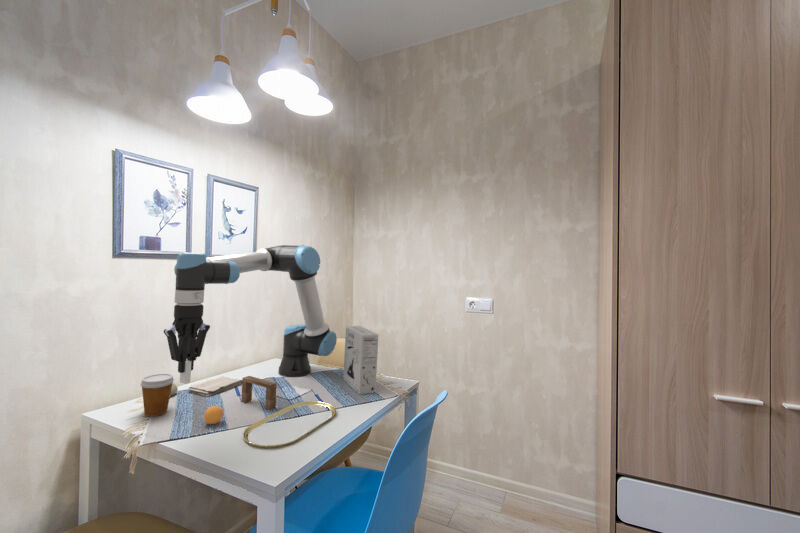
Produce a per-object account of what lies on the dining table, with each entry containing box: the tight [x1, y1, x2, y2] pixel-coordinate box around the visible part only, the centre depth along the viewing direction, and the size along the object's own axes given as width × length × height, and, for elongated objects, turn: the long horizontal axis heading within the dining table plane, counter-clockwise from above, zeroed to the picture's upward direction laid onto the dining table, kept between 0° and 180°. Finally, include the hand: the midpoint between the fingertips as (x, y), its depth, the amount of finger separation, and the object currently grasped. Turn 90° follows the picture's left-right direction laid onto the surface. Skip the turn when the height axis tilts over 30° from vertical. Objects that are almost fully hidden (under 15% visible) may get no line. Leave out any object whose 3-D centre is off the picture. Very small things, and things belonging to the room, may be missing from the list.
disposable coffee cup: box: [140, 373, 175, 417], centre depth 119 cm, size 10×10×12 cm
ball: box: [203, 405, 224, 425], centre depth 113 cm, size 6×6×6 cm
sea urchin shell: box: [170, 382, 178, 397], centre depth 134 cm, size 9×8×8 cm
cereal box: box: [342, 325, 379, 395], centre depth 155 cm, size 22×8×25 cm, turn 27°
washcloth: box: [187, 376, 242, 398], centre depth 144 cm, size 12×18×3 cm, turn 160°
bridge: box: [240, 375, 278, 411], centre depth 129 cm, size 3×14×9 cm, turn 64°
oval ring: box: [242, 400, 337, 449], centre depth 116 cm, size 19×35×2 cm, turn 156°
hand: (185, 382), depth 104 cm, fingers closed
